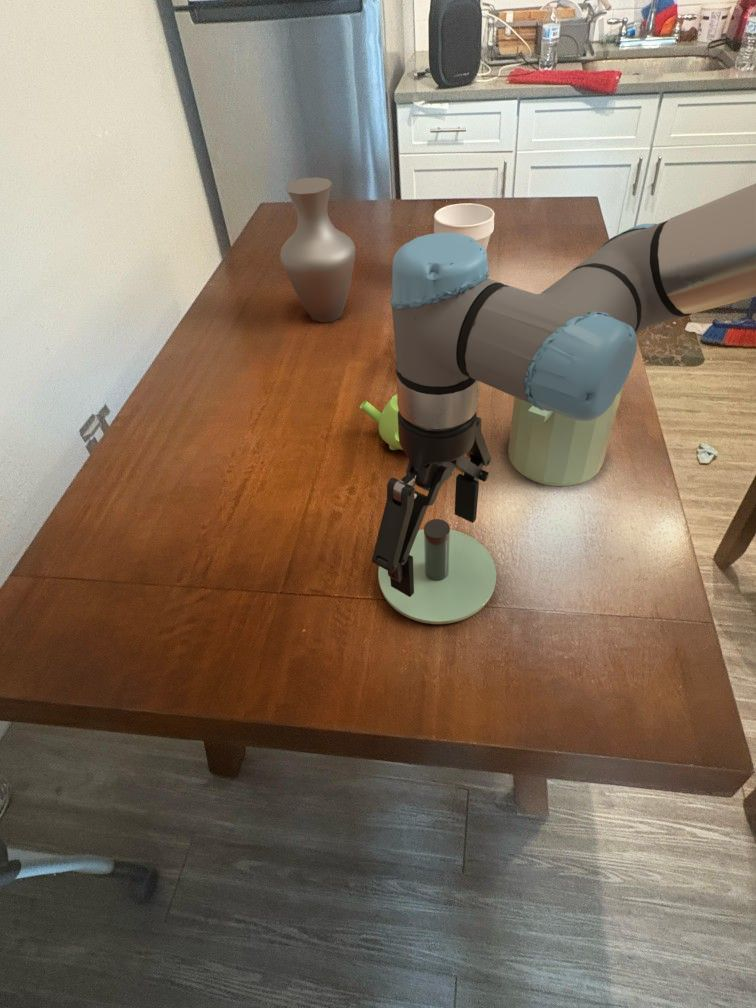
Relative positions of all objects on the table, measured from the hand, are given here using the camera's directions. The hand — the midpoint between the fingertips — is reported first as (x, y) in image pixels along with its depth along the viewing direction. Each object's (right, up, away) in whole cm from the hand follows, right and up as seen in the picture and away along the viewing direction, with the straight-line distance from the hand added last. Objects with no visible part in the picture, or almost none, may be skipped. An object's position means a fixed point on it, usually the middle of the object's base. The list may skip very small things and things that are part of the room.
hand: (435, 551), depth 73 cm
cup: (+11, +55, +59) cm, 82 cm away
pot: (+20, +13, +18) cm, 30 cm away
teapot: (-3, +16, +23) cm, 28 cm away
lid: (0, -3, +3) cm, 4 cm away
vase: (-18, +45, +53) cm, 71 cm away
